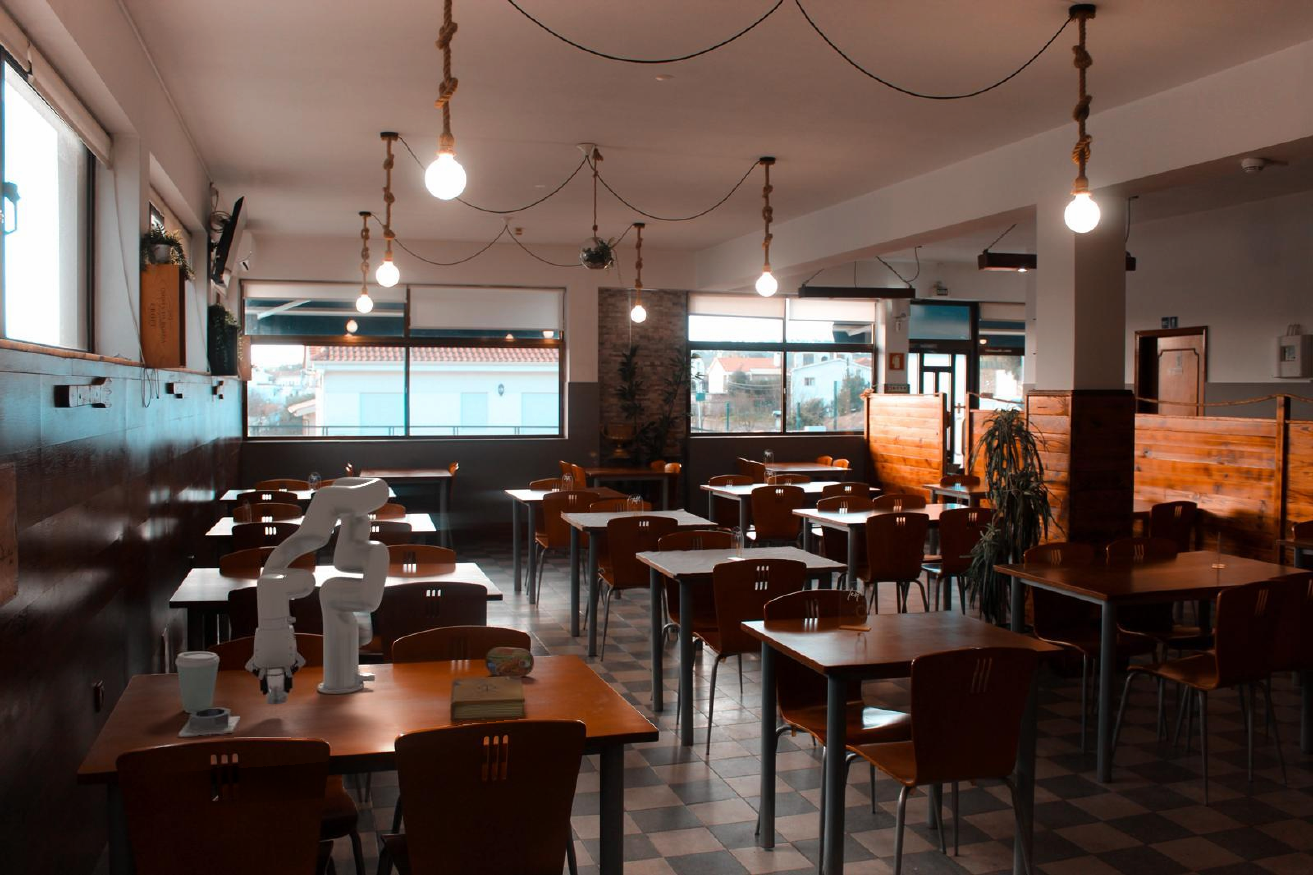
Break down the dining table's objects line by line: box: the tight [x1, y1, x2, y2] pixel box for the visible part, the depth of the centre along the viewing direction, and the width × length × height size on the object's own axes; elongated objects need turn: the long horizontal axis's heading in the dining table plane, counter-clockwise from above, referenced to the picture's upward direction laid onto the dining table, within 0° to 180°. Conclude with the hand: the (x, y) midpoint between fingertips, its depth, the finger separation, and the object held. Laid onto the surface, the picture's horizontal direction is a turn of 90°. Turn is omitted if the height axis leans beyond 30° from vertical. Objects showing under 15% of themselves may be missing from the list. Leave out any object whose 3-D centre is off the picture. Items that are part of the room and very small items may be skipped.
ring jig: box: [178, 706, 241, 738], centre depth 257 cm, size 12×12×4 cm
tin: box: [485, 646, 535, 678], centre depth 309 cm, size 15×3×8 cm, turn 73°
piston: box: [265, 667, 288, 705], centre depth 267 cm, size 5×5×9 cm
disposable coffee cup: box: [174, 650, 221, 714], centre depth 272 cm, size 11×11×15 cm
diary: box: [450, 676, 526, 723], centre depth 276 cm, size 23×19×6 cm
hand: (276, 691), depth 267 cm, fingers closed on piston, 5 cm apart
